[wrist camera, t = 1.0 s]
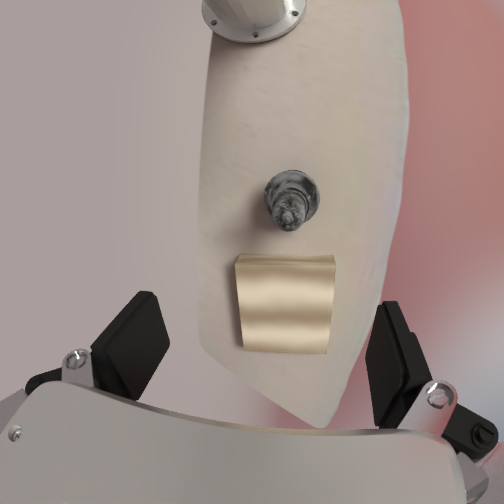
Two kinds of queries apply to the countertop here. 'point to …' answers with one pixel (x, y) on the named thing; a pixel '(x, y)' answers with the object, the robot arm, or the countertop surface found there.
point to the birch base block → (285, 302)
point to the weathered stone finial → (291, 199)
